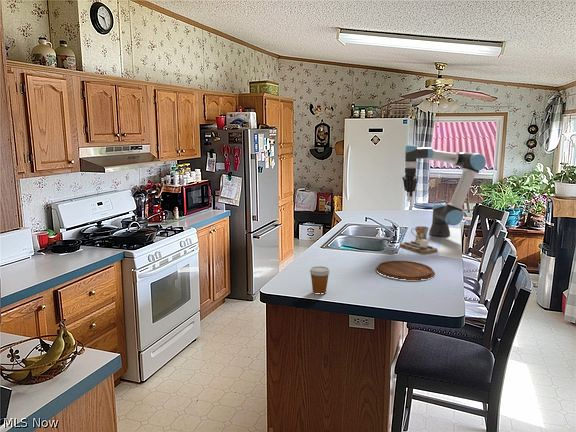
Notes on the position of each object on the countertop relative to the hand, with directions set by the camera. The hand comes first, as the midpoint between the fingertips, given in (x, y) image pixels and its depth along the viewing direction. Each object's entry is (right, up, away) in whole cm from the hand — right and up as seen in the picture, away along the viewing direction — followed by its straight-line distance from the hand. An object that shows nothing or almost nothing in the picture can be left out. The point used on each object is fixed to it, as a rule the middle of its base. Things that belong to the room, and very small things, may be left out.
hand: (409, 201), depth 321 cm
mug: (+7, -29, +1) cm, 30 cm away
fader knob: (+3, -31, -23) cm, 39 cm away
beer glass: (-70, -48, -100) cm, 131 cm away
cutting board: (-20, -42, -67) cm, 82 cm away
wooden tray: (+1, -33, -18) cm, 37 cm away
